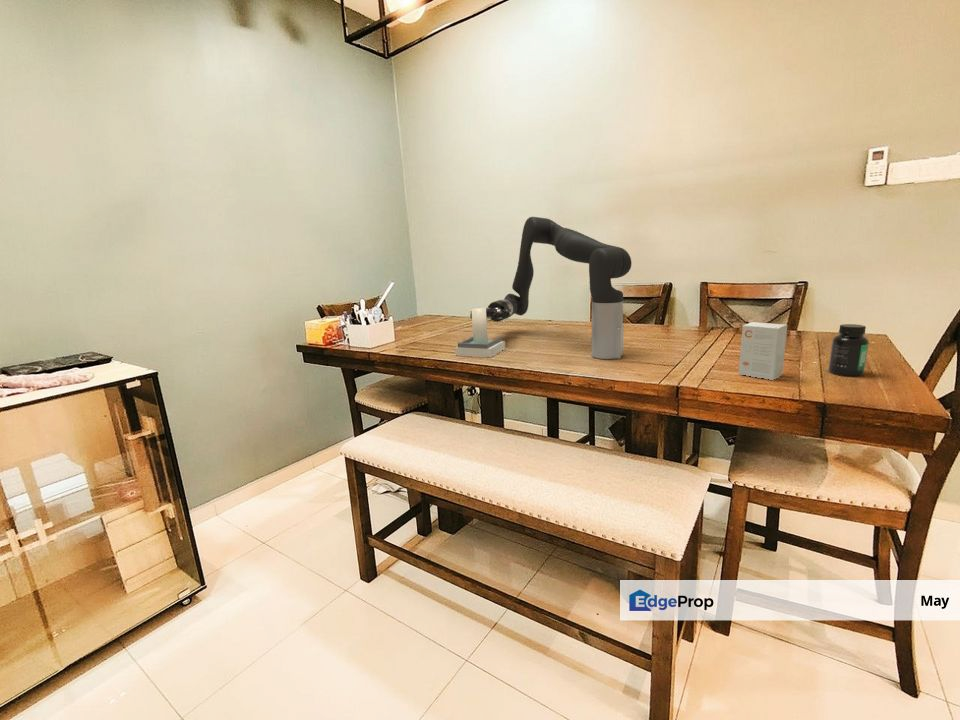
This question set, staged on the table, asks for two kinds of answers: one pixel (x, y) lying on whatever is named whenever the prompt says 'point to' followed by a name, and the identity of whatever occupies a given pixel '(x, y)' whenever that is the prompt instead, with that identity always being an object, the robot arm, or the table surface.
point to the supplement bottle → (849, 351)
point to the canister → (479, 325)
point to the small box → (762, 350)
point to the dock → (480, 348)
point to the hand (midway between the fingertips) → (482, 316)
